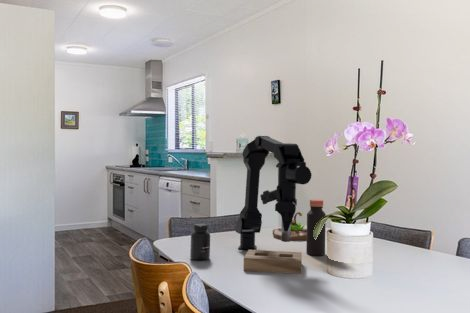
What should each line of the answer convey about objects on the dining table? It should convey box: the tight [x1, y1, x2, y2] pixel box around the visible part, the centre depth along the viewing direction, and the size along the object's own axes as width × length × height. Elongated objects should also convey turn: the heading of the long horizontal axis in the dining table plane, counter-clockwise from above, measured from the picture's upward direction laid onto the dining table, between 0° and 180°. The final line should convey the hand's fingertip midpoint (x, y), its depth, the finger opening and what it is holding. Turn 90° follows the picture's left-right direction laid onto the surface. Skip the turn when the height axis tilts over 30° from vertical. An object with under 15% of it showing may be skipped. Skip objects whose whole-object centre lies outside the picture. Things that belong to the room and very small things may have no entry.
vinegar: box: [305, 199, 327, 257], centre depth 164 cm, size 7×7×20 cm
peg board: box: [243, 249, 303, 275], centre depth 145 cm, size 12×18×4 cm, turn 81°
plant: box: [272, 211, 307, 242], centre depth 199 cm, size 20×20×11 cm
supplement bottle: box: [190, 223, 211, 262], centre depth 155 cm, size 7×7×12 cm
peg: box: [280, 221, 291, 243], centre depth 144 cm, size 3×3×10 cm
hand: (286, 230), depth 144 cm, fingers closed on peg, 3 cm apart
